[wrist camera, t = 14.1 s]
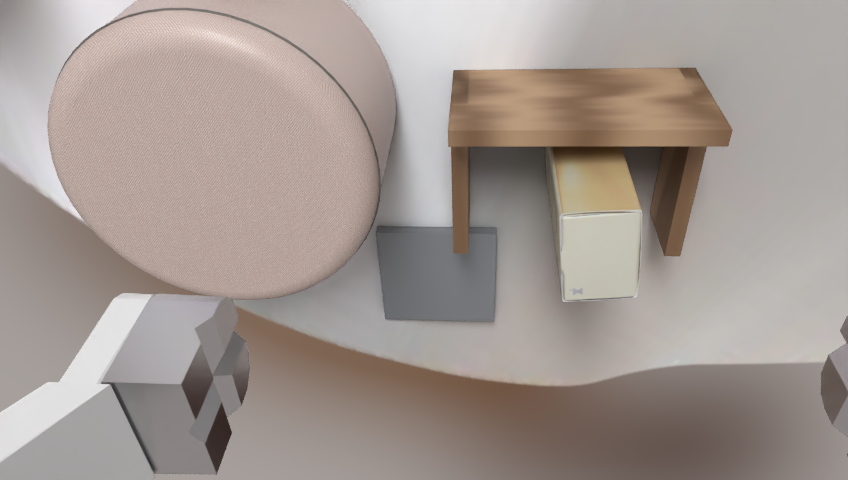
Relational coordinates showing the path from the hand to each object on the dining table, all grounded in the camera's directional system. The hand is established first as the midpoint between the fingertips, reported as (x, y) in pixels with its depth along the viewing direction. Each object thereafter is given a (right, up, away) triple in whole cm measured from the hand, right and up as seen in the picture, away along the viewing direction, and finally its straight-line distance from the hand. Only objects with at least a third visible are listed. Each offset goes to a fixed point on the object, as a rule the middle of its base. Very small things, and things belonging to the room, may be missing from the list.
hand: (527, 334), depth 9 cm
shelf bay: (+8, +8, +36) cm, 38 cm away
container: (-12, +11, +36) cm, 40 cm away
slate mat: (0, -1, +44) cm, 44 cm away
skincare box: (+9, +8, +37) cm, 39 cm away
